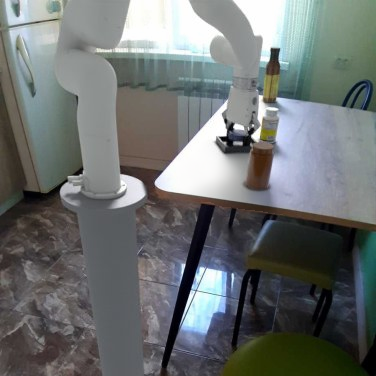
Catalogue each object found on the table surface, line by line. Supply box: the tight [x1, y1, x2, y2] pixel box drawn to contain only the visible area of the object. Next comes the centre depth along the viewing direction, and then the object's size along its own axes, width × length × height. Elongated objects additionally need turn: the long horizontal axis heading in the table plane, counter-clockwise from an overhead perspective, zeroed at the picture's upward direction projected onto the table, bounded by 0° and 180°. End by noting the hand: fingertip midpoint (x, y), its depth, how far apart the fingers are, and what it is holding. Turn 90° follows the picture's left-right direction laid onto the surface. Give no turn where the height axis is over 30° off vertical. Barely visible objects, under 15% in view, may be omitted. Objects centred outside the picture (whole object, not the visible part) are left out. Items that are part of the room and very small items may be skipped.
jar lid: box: [228, 128, 245, 142], centre depth 135 cm, size 7×7×2 cm
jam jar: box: [245, 141, 275, 191], centre depth 111 cm, size 6×6×11 cm
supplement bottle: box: [259, 106, 280, 144], centre depth 139 cm, size 6×6×10 cm
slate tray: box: [215, 135, 258, 154], centre depth 137 cm, size 12×11×2 cm
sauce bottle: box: [262, 46, 281, 103], centre depth 176 cm, size 6×6×20 cm
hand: (237, 144), depth 137 cm, fingers closed on jar lid, 6 cm apart
